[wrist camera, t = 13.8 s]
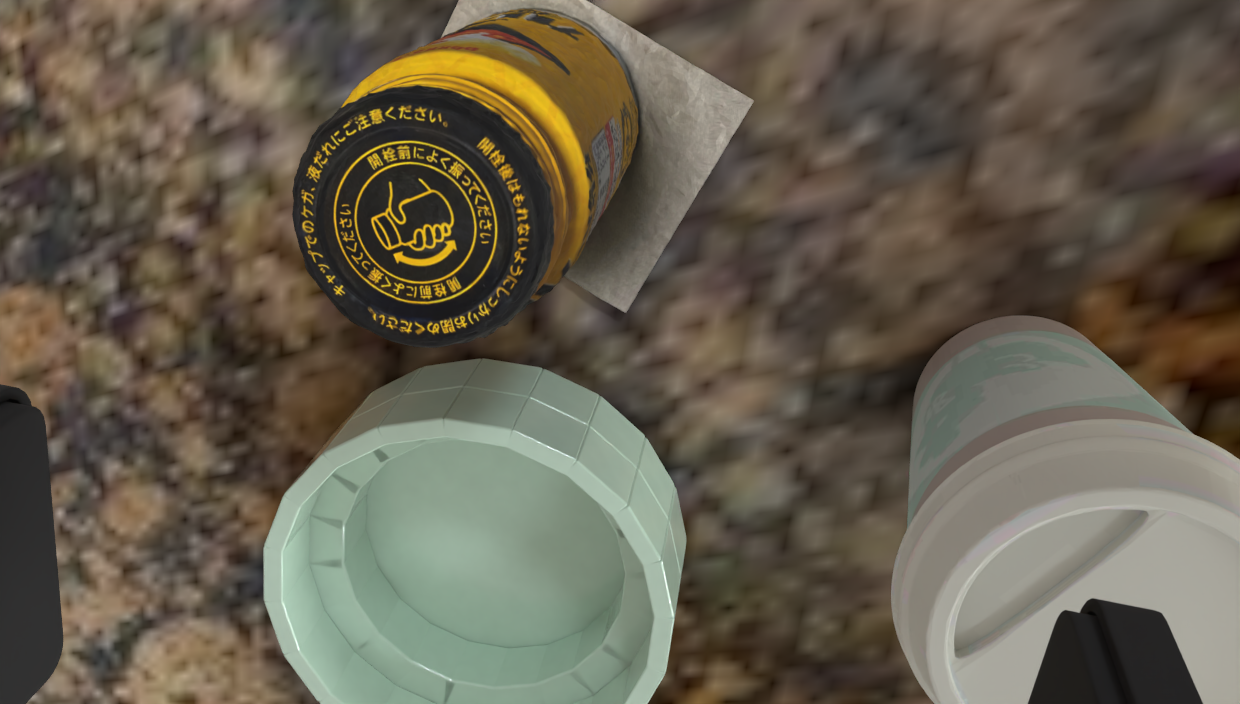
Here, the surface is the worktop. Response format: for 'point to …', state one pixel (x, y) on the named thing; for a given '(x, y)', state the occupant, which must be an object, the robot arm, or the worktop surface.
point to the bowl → (478, 547)
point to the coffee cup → (1056, 514)
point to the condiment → (506, 170)
